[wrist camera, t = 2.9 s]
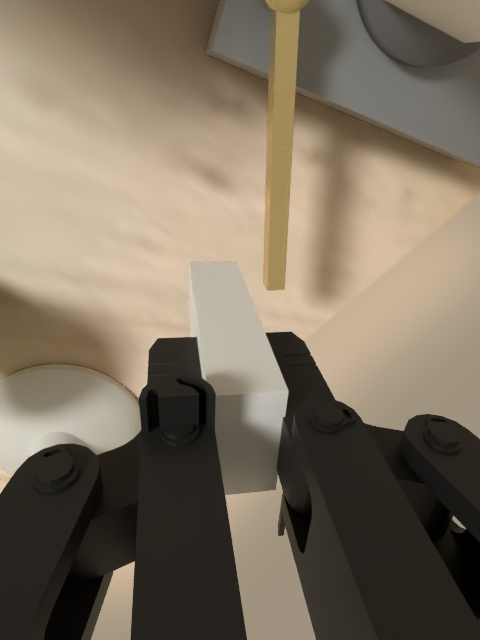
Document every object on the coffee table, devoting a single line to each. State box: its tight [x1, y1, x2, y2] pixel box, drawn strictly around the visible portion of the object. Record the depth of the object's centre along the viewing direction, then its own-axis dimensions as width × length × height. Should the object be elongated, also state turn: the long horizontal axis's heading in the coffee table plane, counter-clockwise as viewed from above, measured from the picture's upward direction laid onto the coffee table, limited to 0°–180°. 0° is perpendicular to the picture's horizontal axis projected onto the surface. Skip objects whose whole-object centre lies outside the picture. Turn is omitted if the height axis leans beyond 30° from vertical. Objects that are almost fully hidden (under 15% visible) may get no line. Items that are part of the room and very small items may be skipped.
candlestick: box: [0, 364, 141, 475], centre depth 22 cm, size 13×13×30 cm
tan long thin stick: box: [260, 0, 310, 291], centre depth 21 cm, size 15×2×1 cm, turn 1°
